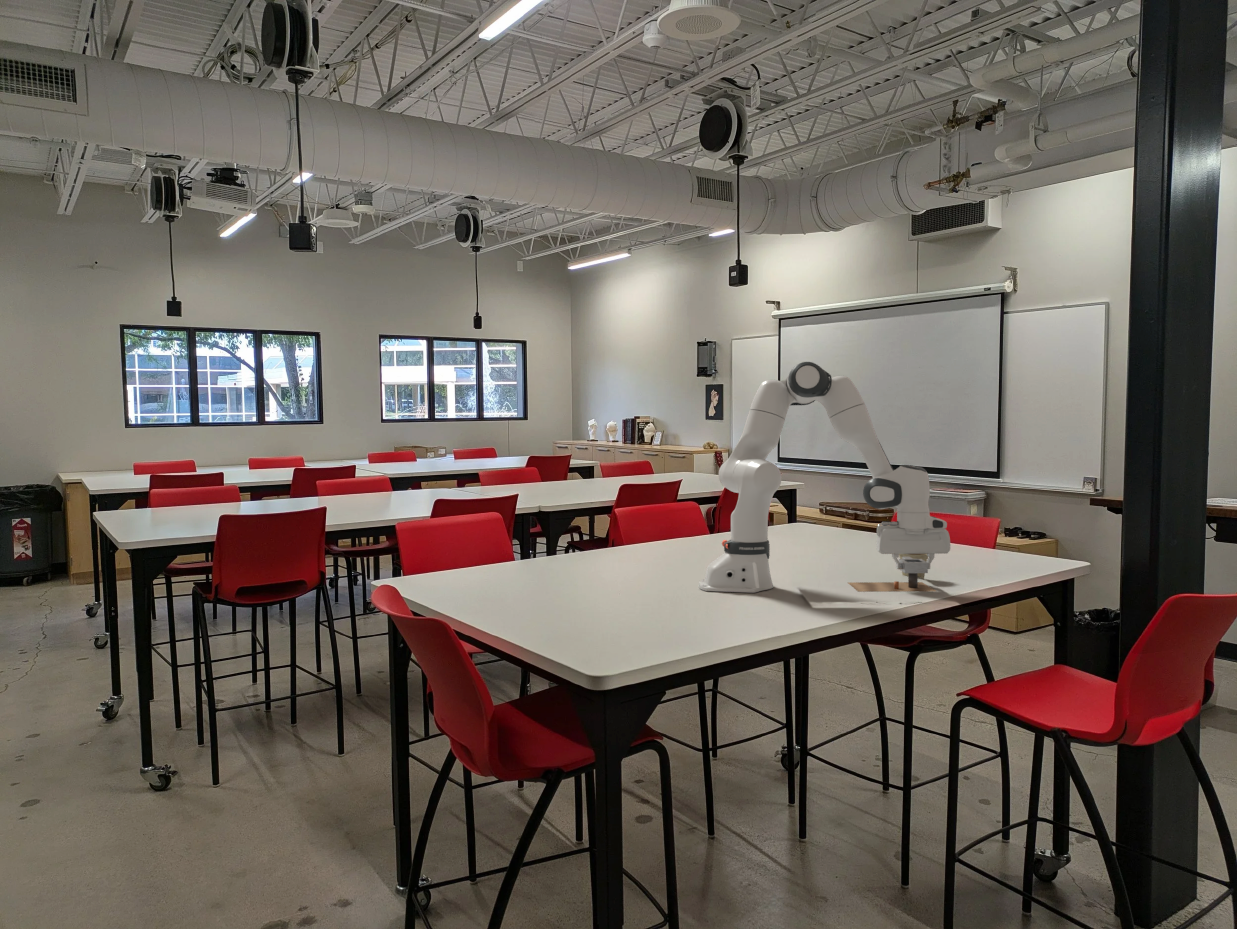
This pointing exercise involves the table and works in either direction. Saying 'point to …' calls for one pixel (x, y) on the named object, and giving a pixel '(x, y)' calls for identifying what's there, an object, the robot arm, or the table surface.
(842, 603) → the table surface
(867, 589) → the board
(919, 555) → the flower pot
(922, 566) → the grey square frame
